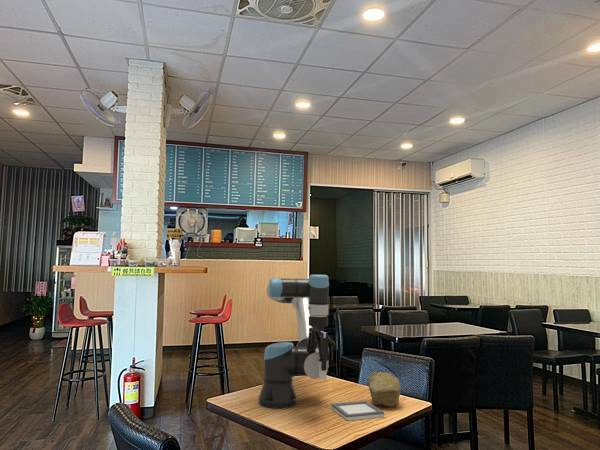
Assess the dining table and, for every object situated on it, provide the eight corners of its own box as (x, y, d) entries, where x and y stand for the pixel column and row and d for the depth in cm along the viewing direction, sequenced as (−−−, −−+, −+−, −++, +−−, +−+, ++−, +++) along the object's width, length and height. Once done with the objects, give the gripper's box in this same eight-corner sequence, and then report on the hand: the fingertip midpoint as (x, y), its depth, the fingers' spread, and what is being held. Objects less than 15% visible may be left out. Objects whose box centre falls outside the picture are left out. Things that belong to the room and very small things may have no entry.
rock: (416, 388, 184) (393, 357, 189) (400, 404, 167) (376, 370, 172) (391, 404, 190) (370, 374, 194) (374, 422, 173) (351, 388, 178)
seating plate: (331, 408, 173) (331, 403, 173) (365, 405, 178) (365, 400, 178) (347, 420, 159) (347, 415, 159) (384, 417, 163) (384, 412, 164)
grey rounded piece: (298, 360, 161) (306, 344, 170) (303, 383, 164) (311, 367, 173) (322, 360, 158) (329, 344, 167) (328, 384, 161) (334, 368, 170)
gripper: (299, 312, 177) (298, 369, 175) (319, 319, 156) (318, 384, 154) (316, 312, 180) (315, 368, 178) (339, 319, 158) (338, 382, 156)
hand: (317, 375), depth 166 cm, fingers closed on grey rounded piece, 10 cm apart
